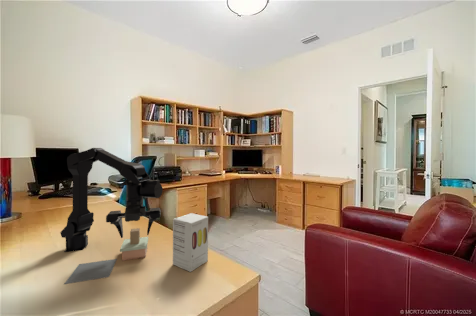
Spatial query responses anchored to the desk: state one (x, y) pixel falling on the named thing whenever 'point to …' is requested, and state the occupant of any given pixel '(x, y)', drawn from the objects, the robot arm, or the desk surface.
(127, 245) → the lid
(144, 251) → the dish
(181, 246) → the supplement box
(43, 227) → the desk surface
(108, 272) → the mat
